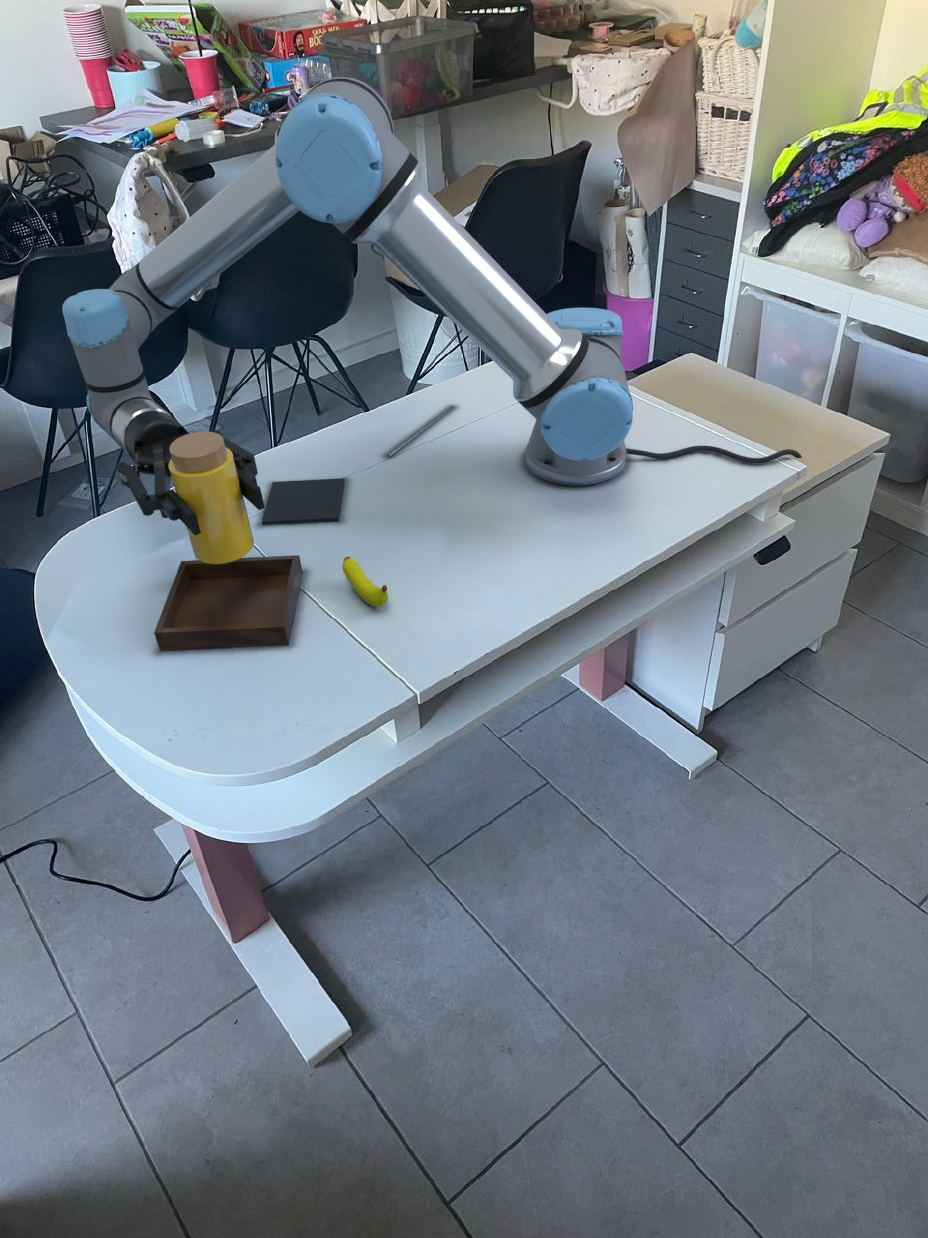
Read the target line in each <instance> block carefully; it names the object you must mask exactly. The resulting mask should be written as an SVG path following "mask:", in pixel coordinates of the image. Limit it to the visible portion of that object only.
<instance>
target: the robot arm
mask: <svg viewBox="0 0 928 1238" xmlns="http://www.w3.org/2000/svg"><path fill="white" fill-rule="evenodd" d="M421 169H422V168H421V162H420V161H419V160H418V159H417V158H416V157H415V155H413V153H412V152H411V151H410V150H409V149H408V148H407V147H406V146H405V145H404V144H403V143H402V142H401V140H399V138H397V137H396V136H395V127H394V121H393V117H392V113H391V111H390V110H389V107H388V105H387V103H386V102H385V100H384V99H383V97H382V96H381V95H380V94H379V93H378V92H377V91H376V90H375V89H374V88H372V87H371V86H370V85H369V84H368V83H366V82H364V81H362V80H360V79H357V78H354V77H349V76H336V77H331V78H328V79H324V80H322V81H321V82H319V83H318V84H316V85H315V86H313V87H312V89H310V90H309V91H308V93H307V94H305V96H304V97H302V98H301V99H300V100H299V101H298V102H297V103H296V104H295V105H294V106H293V107H292V108H291V109H289V111H288V114H287V115H286V117H285V119H284V120H283V122H282V124H281V127H279V128H278V129H277V130H276V131H275V134H274V145H273V146H271V147H270V148H269V149H268V150H266V151H265V152H264V153H263V154H262V155H261V156H260V157H258V158H257V159H256V160H255V161H254V162H253V163H251V164H250V165H249V166H248V167H247V168H246V169H244V170H243V171H242V172H241V173H240V174H238V175H237V176H236V177H235V178H234V179H233V180H232V181H231V182H229V183H228V184H227V185H226V186H225V187H223V188H222V189H221V190H220V191H219V192H218V193H216V195H214V197H212V198H211V199H210V200H208V201H207V202H206V203H205V204H204V205H203V206H201V208H199V209H198V210H197V211H196V212H194V213H193V214H192V215H190V217H188V219H186V220H185V221H184V222H183V223H182V224H180V225H179V226H178V227H177V228H176V229H175V230H174V231H172V232H171V233H170V234H169V235H168V236H166V237H165V239H163V240H162V241H160V242H159V243H158V244H157V245H156V246H155V247H154V248H152V250H150V251H149V252H148V253H147V254H146V255H145V256H144V257H142V258H141V259H140V261H138V263H136V264H134V265H133V266H132V267H131V268H129V269H127V270H125V271H124V272H123V273H121V274H120V275H119V276H118V277H117V278H116V279H115V280H114V281H113V284H112V285H111V286H110V287H108V288H93V289H88V290H83V291H80V292H77V293H76V294H75V295H71V296H69V297H68V298H66V299H65V301H64V302H63V304H62V315H63V318H64V322H65V325H66V334H67V336H68V339H69V340H70V343H71V345H72V348H73V351H74V354H75V357H76V359H77V362H78V365H79V368H80V371H81V374H82V377H83V379H84V383H85V385H86V390H87V394H86V400H85V401H86V406H87V410H88V412H89V414H90V415H91V417H92V419H93V421H94V423H95V424H97V425H98V426H99V428H100V429H101V430H103V431H104V432H105V433H106V434H107V435H108V436H109V437H110V438H111V439H112V440H113V441H114V442H115V443H116V444H117V445H118V446H119V447H120V448H121V450H123V452H125V454H127V456H128V457H129V458H130V459H131V460H132V461H133V463H130V464H128V463H127V462H119V463H116V465H115V468H116V471H117V473H118V474H117V475H118V476H119V480H120V483H121V485H123V486H124V487H126V488H129V489H130V492H131V494H132V495H133V497H134V499H135V501H136V503H137V505H138V507H139V509H140V511H141V513H142V515H143V516H146V517H149V516H152V515H153V514H154V513H155V511H160V515H161V518H163V519H169V520H170V521H172V522H176V521H178V520H180V522H181V523H182V524H183V525H184V526H185V528H186V527H187V528H188V529H189V530H190V531H191V532H192V533H193V534H194V535H198V534H200V533H201V531H200V527H199V524H198V520H197V517H196V513H195V512H194V511H193V510H192V509H191V508H190V507H189V506H188V505H187V504H186V503H185V502H184V501H183V500H182V499H181V497H180V496H178V494H177V493H176V491H175V489H174V488H173V489H171V485H172V481H171V480H172V477H171V474H170V470H169V467H168V466H169V462H170V460H171V459H172V458H171V454H170V451H169V447H170V445H171V444H172V442H173V441H175V440H176V439H178V438H179V437H181V436H184V435H187V434H190V433H189V431H188V429H186V428H185V427H184V425H182V424H181V423H180V422H179V421H178V420H177V419H176V418H174V417H173V416H172V415H171V414H170V413H169V412H168V411H166V409H164V408H163V407H162V406H161V405H160V404H159V403H158V402H156V401H155V400H154V398H153V397H152V394H151V392H150V388H149V385H148V382H147V379H146V375H145V374H146V373H145V371H144V367H143V364H142V360H141V357H140V354H139V349H140V348H141V346H142V345H143V344H144V343H145V341H146V340H147V339H148V338H149V336H150V335H151V334H152V333H153V331H154V330H155V329H156V328H157V327H158V326H159V325H160V324H161V323H162V322H164V321H165V320H166V319H167V318H168V317H170V316H171V315H172V314H173V313H174V312H175V311H177V310H178V309H179V308H180V307H181V306H182V305H184V304H185V303H186V302H187V301H188V300H190V299H191V298H192V297H194V295H196V294H197V293H198V292H200V291H201V290H202V289H203V288H205V287H206V286H207V285H209V284H210V283H211V282H212V281H214V280H215V279H216V278H217V277H219V276H220V275H221V274H223V272H225V271H226V270H227V269H228V268H230V267H231V266H233V264H235V263H236V262H237V261H239V260H240V259H241V258H242V257H243V256H245V255H246V254H247V253H249V252H250V251H251V250H252V249H254V247H256V246H257V245H259V244H260V243H261V242H262V241H264V240H265V239H266V238H267V237H268V236H270V235H271V234H272V233H274V232H275V231H276V230H277V229H278V228H280V227H282V225H284V223H286V222H287V221H288V220H290V219H291V218H292V217H293V216H295V215H296V214H297V213H298V212H300V211H301V212H302V213H303V214H305V215H306V216H307V217H309V218H311V219H313V220H316V221H318V222H322V223H327V224H332V225H333V226H334V227H335V228H336V229H337V230H338V231H340V233H342V234H343V236H345V237H346V238H347V239H348V240H349V241H350V242H351V243H352V244H371V245H373V246H374V247H375V248H376V249H377V250H379V251H380V253H381V254H382V255H384V256H385V257H386V258H387V260H388V261H390V263H392V264H393V265H394V266H395V267H396V268H397V269H398V270H399V271H400V272H401V273H402V274H403V275H404V276H405V277H406V278H407V279H408V280H409V281H410V282H411V283H412V284H413V285H415V287H416V288H417V289H419V290H420V291H421V292H422V293H423V294H424V296H426V298H428V299H429V300H430V301H431V303H433V304H434V305H435V306H436V307H437V308H438V309H439V310H440V311H441V312H442V313H443V314H444V315H445V316H446V317H447V318H448V319H450V320H451V322H453V324H455V326H457V327H458V329H460V330H461V332H463V333H464V334H465V335H466V336H467V338H469V339H470V340H471V341H472V342H473V343H474V344H475V345H476V346H477V347H478V348H479V349H480V350H481V351H482V352H483V353H484V354H485V355H486V356H487V357H489V359H491V360H492V362H494V363H495V364H496V365H497V366H498V368H500V369H501V370H502V371H503V372H504V374H506V375H507V376H508V377H509V378H510V379H511V381H512V396H513V398H514V399H515V401H517V403H519V404H520V405H521V406H522V407H523V408H524V409H525V410H526V411H527V412H528V413H529V414H530V415H531V416H532V417H533V418H534V419H535V422H534V425H533V428H532V430H531V433H530V436H529V438H528V439H529V440H528V442H527V445H526V449H525V450H526V451H525V463H526V466H527V469H528V470H529V471H530V472H531V473H532V474H533V475H535V476H536V477H538V478H540V479H542V480H544V481H547V482H549V483H553V484H557V485H562V486H573V487H577V486H578V487H580V486H591V485H597V484H600V483H603V482H606V481H607V482H608V481H609V480H611V479H613V478H615V477H617V476H618V475H619V474H620V473H621V472H623V470H624V468H625V467H626V463H627V455H634V456H640V457H645V458H650V459H657V460H662V459H663V460H665V459H672V458H676V457H679V456H682V455H686V454H689V453H694V452H711V453H716V454H719V455H721V456H725V457H727V458H730V459H733V460H736V461H739V462H741V463H745V464H746V463H747V464H754V465H755V464H756V465H757V464H765V463H769V462H772V461H775V460H776V459H779V458H781V457H783V456H787V455H788V456H793V457H794V458H795V459H803V456H802V454H801V453H800V452H798V451H797V450H795V449H792V448H791V449H790V448H789V449H788V448H786V449H782V450H779V451H777V452H775V453H772V454H770V455H767V456H764V457H749V456H745V455H740V454H737V453H735V452H732V451H729V450H727V449H724V448H721V447H717V446H714V445H713V446H712V445H693V446H688V447H684V448H681V449H677V450H675V451H671V452H661V453H660V452H658V453H657V452H652V451H647V450H642V449H635V448H634V449H633V448H627V445H626V443H625V439H626V438H627V436H628V434H629V432H630V430H631V429H632V428H631V427H632V423H633V417H634V416H633V415H634V414H633V412H634V402H633V398H632V394H631V392H630V387H629V384H628V380H627V376H626V372H625V368H624V363H623V359H622V341H623V340H622V339H623V336H624V330H623V320H622V318H621V316H620V315H619V314H618V313H616V312H614V311H612V310H609V309H605V308H604V309H603V308H598V307H569V308H562V309H558V310H554V311H550V312H548V313H546V312H545V311H544V310H543V309H542V308H541V307H540V306H539V305H538V304H537V303H536V302H535V301H534V299H532V298H531V296H530V295H529V294H527V293H526V291H525V290H524V289H523V288H522V287H521V286H520V285H519V284H518V283H517V282H516V281H515V280H514V279H513V278H512V277H511V276H510V275H509V274H508V273H507V272H506V270H504V269H503V268H502V266H501V265H500V264H499V263H497V261H496V260H495V259H494V258H493V257H492V256H491V255H490V254H489V253H488V251H486V250H485V249H484V247H482V245H481V244H479V242H478V241H477V240H476V239H474V238H473V236H472V235H471V234H470V233H469V232H468V231H467V230H466V229H465V228H464V227H463V226H462V225H461V224H460V222H458V220H457V219H455V218H454V216H453V215H451V214H450V212H449V211H448V210H447V209H446V208H445V207H444V206H443V205H442V204H441V203H440V202H439V201H438V200H437V199H436V198H435V197H434V196H433V194H431V193H430V192H429V190H427V188H426V187H425V186H423V182H422V170H421ZM211 432H214V433H217V434H219V435H221V436H222V437H223V439H224V443H225V447H226V448H228V449H229V450H231V452H232V454H233V457H234V461H235V465H236V470H237V474H238V478H239V482H240V486H241V490H242V494H243V498H244V499H246V500H247V501H248V502H249V503H250V504H251V505H253V506H254V507H255V509H257V510H258V511H260V510H263V509H265V508H266V505H265V502H264V497H263V494H262V493H263V492H262V488H261V487H260V486H259V485H258V481H257V475H259V472H258V467H257V462H256V458H255V455H254V454H253V453H251V452H250V451H248V450H247V449H245V448H243V447H241V446H239V445H238V444H236V443H235V442H233V441H231V440H229V439H227V438H226V437H224V436H223V434H222V432H221V430H219V429H215V430H212V431H211ZM141 474H143V475H151V476H154V494H149V492H148V490H147V489H146V487H145V485H144V484H143V481H142V479H141V478H140V477H141ZM187 528H186V529H187Z"/></svg>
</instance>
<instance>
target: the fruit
mask: <svg viewBox="0 0 928 1238" xmlns="http://www.w3.org/2000/svg"><path fill="white" fill-rule="evenodd" d="M342 561H343V562H342V566H341V568H342V571H343V574H344V576H345V578H346V580H347V581H348V583H349V585H350V586H351V587H352V588H353V590H354V591H355V592H356V593H357V595H358V596H359V597H360V598H361V599H362V600H363V601H364V602H365V603H366V604H368V605H370V606H372V607H376V608H377V607H382V606H384V605H386V604H387V602H388V601H389V594H388V586H387V585H386V584H383V585H382V586H381V587H379V586H377V585H375V584H374V583H373V582H372V581H371V580H370V579H369V578H368V576H367V575H366V574H365V572H364V571H363V569H362V568H361V566H360V564H359V562H357V560H356V559H354V558H352V557H351V556H348V555H347V556H346V557H344V559H343V560H342Z"/></svg>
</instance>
